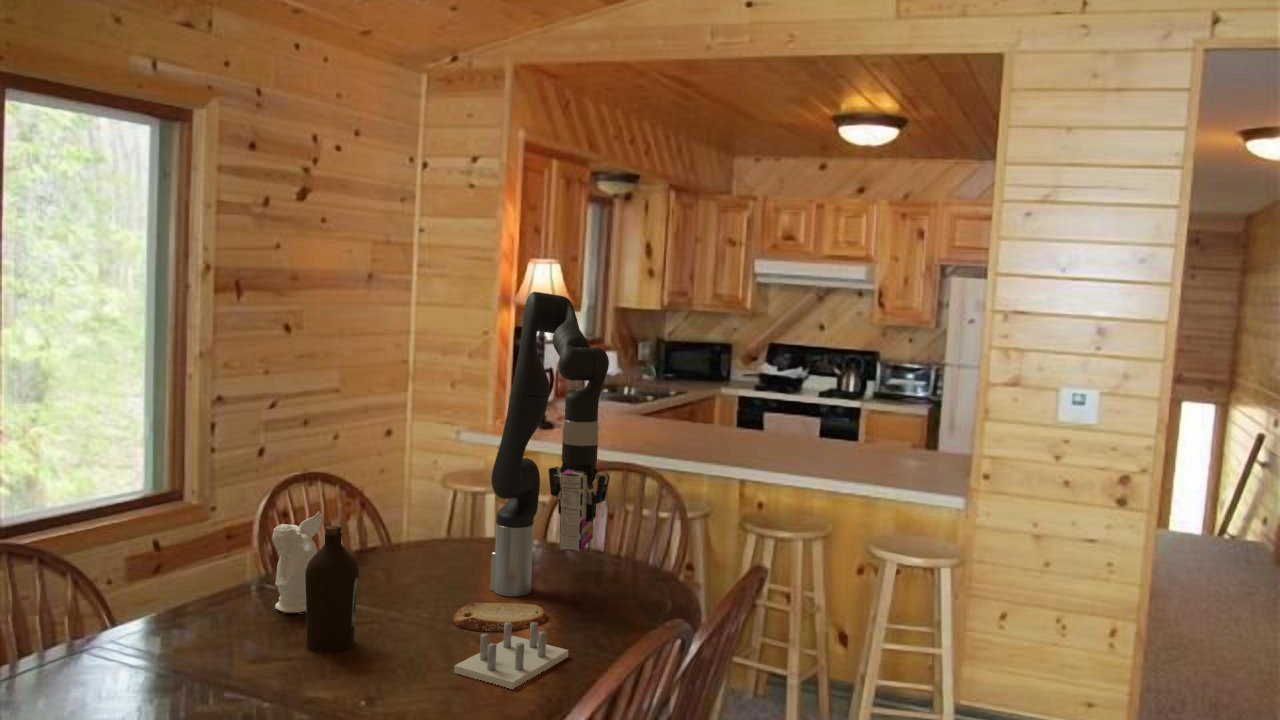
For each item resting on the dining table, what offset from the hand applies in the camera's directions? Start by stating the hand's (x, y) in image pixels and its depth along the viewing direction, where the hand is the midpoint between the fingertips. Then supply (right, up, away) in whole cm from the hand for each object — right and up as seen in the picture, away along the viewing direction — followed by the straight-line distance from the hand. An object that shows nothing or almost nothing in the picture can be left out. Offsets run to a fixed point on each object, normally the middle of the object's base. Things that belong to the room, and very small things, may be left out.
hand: (576, 518), depth 213 cm
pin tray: (-12, -28, -10) cm, 32 cm away
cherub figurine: (-67, -23, +17) cm, 73 cm away
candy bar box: (0, -6, 0) cm, 6 cm away
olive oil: (-51, -26, -5) cm, 57 cm away
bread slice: (-19, -26, +15) cm, 35 cm away
